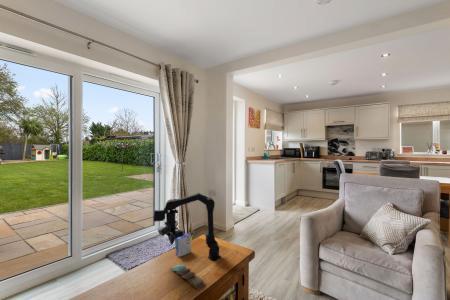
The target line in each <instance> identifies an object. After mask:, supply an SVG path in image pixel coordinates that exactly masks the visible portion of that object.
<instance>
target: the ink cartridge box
mask: <svg viewBox="0 0 450 300" xmlns="http://www.w3.org/2000/svg"><path fill="white" fill-rule="evenodd" d="M174 243H175V244H174V247H175V256H177V257H179V258H180V257H183V256H185V255H187V254H191V253H192V246H191V234H189V233H187V232H186V233H185V232H184V231H183V236H180V237H178V238H175V240H174Z"/></svg>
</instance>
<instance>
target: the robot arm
mask: <svg viewBox="0 0 450 300" xmlns="http://www.w3.org/2000/svg"><path fill="white" fill-rule="evenodd" d="M196 201H199V202H201V203H202V204H204V205H205V209H206V211H207V212H206V217H207V221H206V222H207V234H204V236H205V239H204V241H205V244H206V247H207V248H208V256H207V258H208V259H209V260H212V261H217V260H219V259H221V258H222V256H221V255H220V246H219V243H218V241H217V240H216V238H215V237H216V236H215V233H214V232H215V230H214V228H215V227H214V211H215V203H216V202H215V200H214V199H213V198H212V197H210V196H207V195H204V194H202V193H200V192H197V193H194V194H191V195H187V196H185V197H181V198H173V199H168V200H167V201H166V204H165V207H163V209H158V210H157V209H155V210H154V211H153V212H154V213H153V222H154V223H155V222H164V220H166V221H165V222H164V224H163V225H161V226H160V227H159V228H158V229H157V232H158V234H159V235H160V236H163V237H164V236H167V238H168V240H169V243H170V245H174V243H175V238H178V237H180V236H183V232H184V231H183V230H181V229H178V227H177V223H178V221H177V220H176V219H177V218H176V214H178V213H179V210H178V209H177V208H179V207H180V206H185V205H186V204H190V203H192V202H193V203H194V202H196Z"/></svg>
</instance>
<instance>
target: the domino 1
mask: <svg viewBox="0 0 450 300" xmlns="http://www.w3.org/2000/svg"><path fill="white" fill-rule="evenodd" d="M185 268H187V265H186V264H177V265H175V266H173V267H171V270H172V271H173V272H176V271H181V270H183V269H185Z"/></svg>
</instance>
